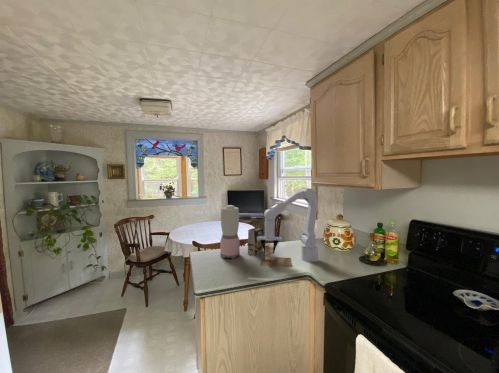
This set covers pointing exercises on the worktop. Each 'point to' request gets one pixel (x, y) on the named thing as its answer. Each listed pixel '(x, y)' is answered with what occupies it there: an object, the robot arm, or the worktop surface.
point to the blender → (229, 232)
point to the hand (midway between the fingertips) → (269, 252)
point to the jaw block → (269, 251)
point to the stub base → (276, 262)
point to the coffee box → (254, 241)
